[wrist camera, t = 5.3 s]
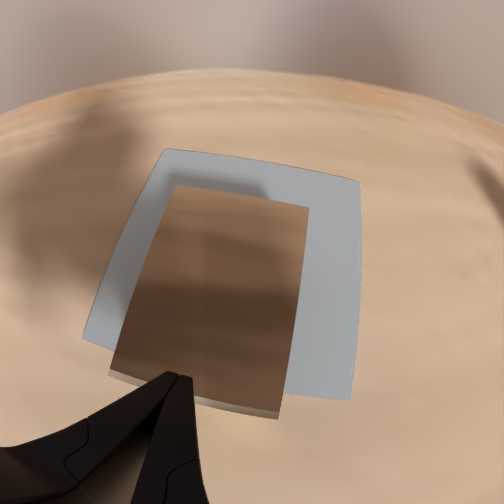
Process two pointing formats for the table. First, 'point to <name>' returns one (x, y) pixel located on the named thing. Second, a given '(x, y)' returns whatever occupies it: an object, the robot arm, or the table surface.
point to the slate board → (314, 265)
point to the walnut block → (218, 300)
